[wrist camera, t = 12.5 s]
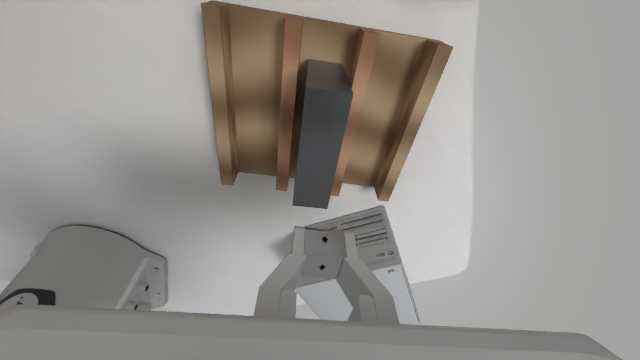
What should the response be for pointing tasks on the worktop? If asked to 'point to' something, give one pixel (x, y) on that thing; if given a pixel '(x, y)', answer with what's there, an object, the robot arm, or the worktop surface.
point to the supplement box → (378, 256)
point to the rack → (289, 88)
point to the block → (321, 132)
